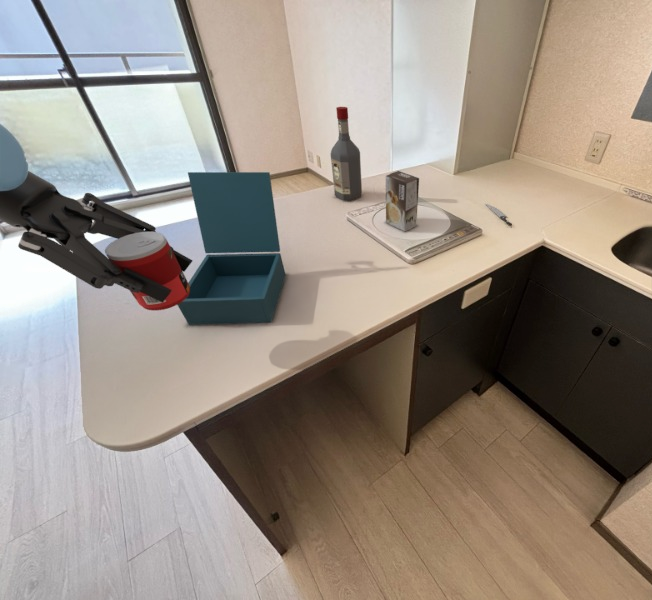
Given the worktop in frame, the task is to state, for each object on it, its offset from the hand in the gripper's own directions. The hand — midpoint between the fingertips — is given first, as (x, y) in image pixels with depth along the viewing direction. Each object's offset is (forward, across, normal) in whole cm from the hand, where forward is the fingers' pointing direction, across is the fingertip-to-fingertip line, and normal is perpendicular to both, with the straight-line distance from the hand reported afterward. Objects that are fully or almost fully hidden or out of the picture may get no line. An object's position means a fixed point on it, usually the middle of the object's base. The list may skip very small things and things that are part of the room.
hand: (178, 280), depth 56 cm
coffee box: (+43, -52, +18) cm, 70 cm away
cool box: (+13, -16, -11) cm, 24 cm away
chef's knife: (+69, -58, +44) cm, 100 cm away
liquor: (+30, -75, +5) cm, 81 cm away
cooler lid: (+2, -28, 0) cm, 28 cm away
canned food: (0, 0, -5) cm, 5 cm away
